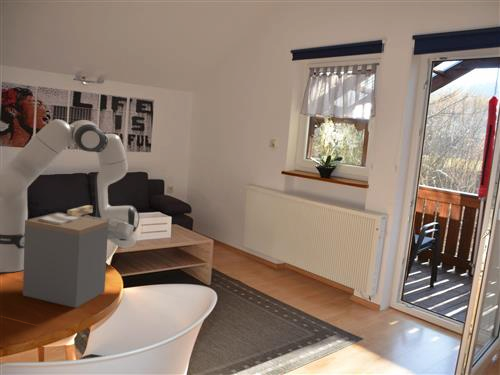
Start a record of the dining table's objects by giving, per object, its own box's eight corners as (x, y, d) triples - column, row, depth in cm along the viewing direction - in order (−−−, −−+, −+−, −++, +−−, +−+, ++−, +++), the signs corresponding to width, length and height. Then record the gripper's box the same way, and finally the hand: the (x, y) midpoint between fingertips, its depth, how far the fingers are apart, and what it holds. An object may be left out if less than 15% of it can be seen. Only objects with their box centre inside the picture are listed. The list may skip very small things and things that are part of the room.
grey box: (22, 295, 156) (24, 220, 152) (55, 280, 171) (57, 212, 167) (76, 307, 150) (79, 230, 146) (104, 291, 165) (108, 221, 162)
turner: (80, 210, 174) (80, 203, 173) (100, 213, 171) (101, 207, 171) (38, 220, 153) (38, 213, 152) (61, 225, 150) (61, 217, 150)
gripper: (94, 218, 194) (77, 207, 182) (137, 226, 189) (122, 215, 176) (88, 233, 192) (71, 222, 179) (132, 241, 186) (117, 230, 174)
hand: (97, 218), depth 178 cm, fingers open, 8 cm apart
